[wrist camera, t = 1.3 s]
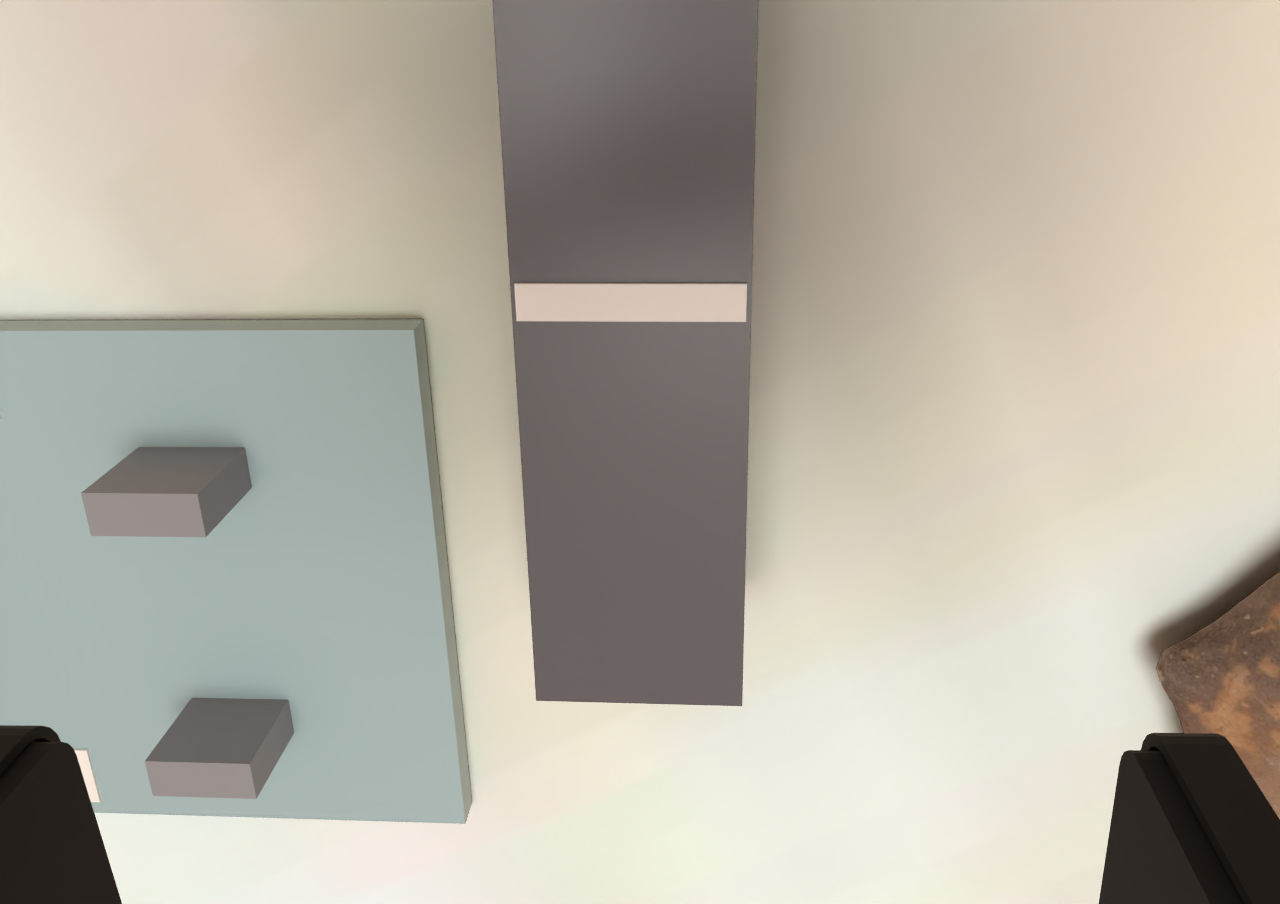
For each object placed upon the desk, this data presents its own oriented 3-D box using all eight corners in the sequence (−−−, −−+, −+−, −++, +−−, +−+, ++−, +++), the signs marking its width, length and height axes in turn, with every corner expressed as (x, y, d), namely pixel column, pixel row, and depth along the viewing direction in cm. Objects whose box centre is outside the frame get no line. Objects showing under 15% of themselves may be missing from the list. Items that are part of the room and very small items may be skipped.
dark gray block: (530, -205, 25) (474, -258, 19) (754, -211, 25) (764, -267, 19) (567, 579, 33) (535, 703, 27) (738, 582, 33) (742, 708, 27)
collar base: (-418, 321, 31) (-568, 366, 28) (423, 318, 30) (380, 367, 26) (-233, 781, 38) (-336, 868, 34) (471, 802, 36) (443, 895, 32)
